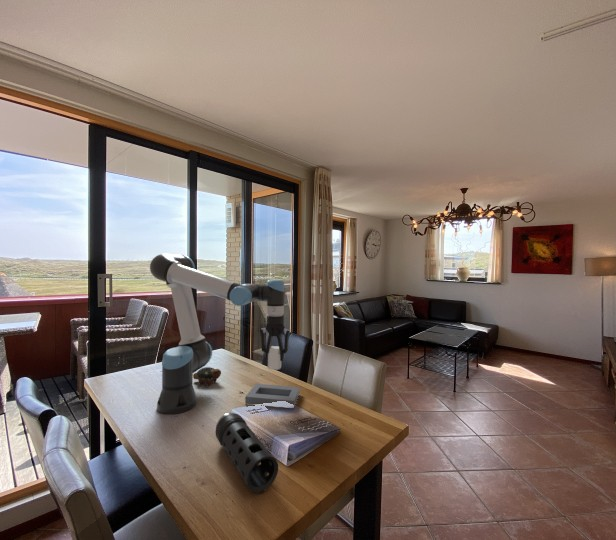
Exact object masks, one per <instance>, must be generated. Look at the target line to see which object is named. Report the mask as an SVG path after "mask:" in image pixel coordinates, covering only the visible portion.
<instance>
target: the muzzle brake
mask: <svg viewBox="0 0 616 540" xmlns="http://www.w3.org/2000/svg"><path fill="white" fill-rule="evenodd" d="M215 438H216V440H217V441H218V443H219V444H220V446H222V447H223V448H224V450H225V452H226V453H227V456H229V459H230V460H231V461H232V463H233V465H234V466H235V469H236V470H237V471H238V473H239V474H240V476H241V477H242V480H243V481H244V483H245V484H246V486H247V488H248V489H249V490H250V491H251V492H253V493H259V494H262V493H264V492H265V491H266V490H267V489H268V488H269V487H271V486H272V484H273V483H274V482H275V480H276V478H277V476H278V472H279V463H278V460H277V459H276V458H275V457H274V455H273V454H272V452H270V450H268V448H267V447H266V445H264V443H263V442H262V441H261V439H260V438H258V436H257V435H256V433H254V432H253V430H252V428H250V427H249V426H248V424H247V422H246V421H245V419H244V418H243V417H242V416H241V415H240V414H238V413H234V412H227V413H225V414H223V415H222V416H221V417H219V419H218V420H217V422H216V426H215Z"/></svg>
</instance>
